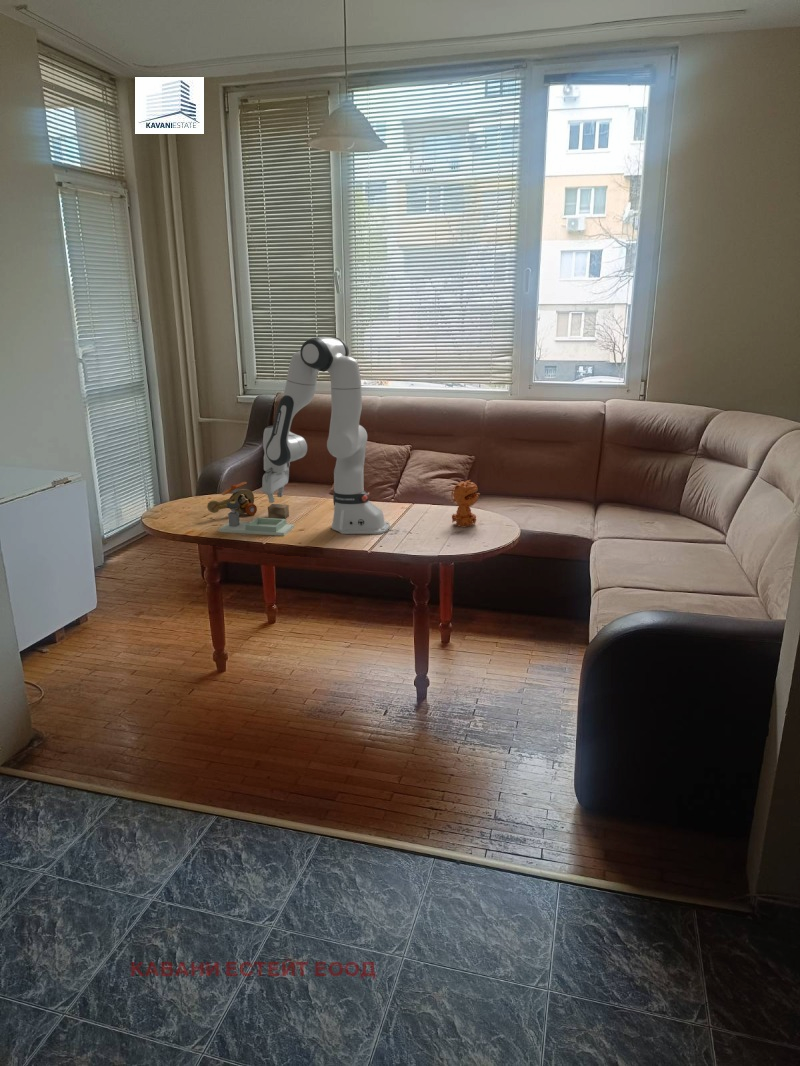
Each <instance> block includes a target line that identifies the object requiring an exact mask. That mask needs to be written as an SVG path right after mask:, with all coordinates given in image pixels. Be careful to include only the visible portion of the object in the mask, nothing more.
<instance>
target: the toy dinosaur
mask: <svg viewBox="0 0 800 1066" xmlns="http://www.w3.org/2000/svg"><path fill="white" fill-rule="evenodd" d="M471 480H472V479H469V480H468V479H467V480H465V481H464V480H463V481H460V482H459V483H458V484H456V485H455V486H453V488H452V490H451V494H450V495H451V500H452V502H453V503H455V502H456V505H457V506H458V507H457V510H456V513H453V514H451V520H452V521H451V523H452V524H453V523H454V522H456V525H457V526H458V525H460V526H459V527H461V526H468V527H470V526H469V525H471V524H472V525H473V524H474V525H476V521H477V515H476V514H475V513H473V512H472V509H471V506H474V504H476V503H477V501H478V499H479V496H480V495H481V493H479V492H477V491H478V486H477V484H476V483H475V482H471ZM472 525H471V526H472Z"/></svg>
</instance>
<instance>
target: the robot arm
mask: <svg viewBox="0 0 800 1066" xmlns="http://www.w3.org/2000/svg"><path fill="white" fill-rule="evenodd" d="M349 351H350V350H349V346H348V345H347V343H346V342H345V340H343V339H341V338H338V337H335V336H332V337H329V336H318V337H311V338H309V339H307V340H306V341H304V343H303V344H302V346H301V348H300V350H299V351H296V352H295V353H293V355H292V356H291V359H290V362H289V365H288V370H287V374H286V375H287V376H286V381H285V387H284V391H283V394H282V396H281V398H280V401H279V403H278V405H277V410H276V412H275V413H276V414H275V417H274V422H273V425H269V426H266V427H265V428H264V430H263V438H262V439H263V440H262V448H263V452H264V455H263V470H264V471H265V473H264V474H263V476H262V482H261V483H262V484H261V485H262V486H261V489H262V490H261V491H262V493H263V494H265V495H267V497H268V502H269V504H274V502H275V497H274V492H276V491H277V498H282V497H283V496H284V489H285V486H286V485H287V484H288V483H289V479H290V478H289V477H290V466H291V464H290V463H291V462H295V461H297V460H301V459H302V458H305V456H306V455H307V454H308V453H307V452H308V449H309V448H308V443H307V440H306V439H305V438H304V437H303V436H302V435H299V434H296V433H294V432H292V431H291V426H292V422H293V419H294V417H295V415H296V414H298V412H299V411H301V410H302V409H303V408H304V407H306V406H308V405H309V404H310V403H311V402H312V400H313V399H314V397H315V393H316V389H317V381H318V379H317V378H318V374H319V372H327V373H328V374H329V377H330V394H331V395H330V396H331V411H330V412H331V413H330V414H331V416H330V423H329V430H328V432H329V433H328V437H327V442H326V448H327V451H328V452H329V454H330V455H331V456H332V457H334V458H336V461H335V467H334V469H333V482H334V483H333V484H334V485H333V486H334V491H333V494H332V500H333V507H334V508H333V509H334V510H333V518H332V523H331V526H330V527H331V529H332V530H333V531H337V532H339V534H342V535H346V534H347V535H357V534H358V535H374V534H375V535H380V534H384V533H387V532H388V531H389V530H390V528H391V523H390V522H388V521H385V518H384V513H383V510H382V509H381V508H379V507H378V506H376V505H375V504H373V503H372V502H371V501H370V492H369V491H368V492H366V491H365V490H364V485H365V484H364V467H365V461H366V460H365V459H366V450H367V442H368V433H367V430H366V428H364V426H362V425H361V424H360V419H361V415H362V414H361V413H362V410H363V406H362V405H363V404H362V403H363V401H362V399H363V398H362V396H363V395H362V378H361V371H360V366H359V362H358V360H356V359H355V358H354V357H352V356H349ZM388 529H389V530H388Z"/></svg>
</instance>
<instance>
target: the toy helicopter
mask: <svg viewBox="0 0 800 1066" xmlns="http://www.w3.org/2000/svg"><path fill="white" fill-rule="evenodd" d="M246 484H247V481H243V482H240V483H238V484H232V485H231V486H230V488H229V489H226V490H225V491H223V492H221V495H222V496H226V495H227V494H229V493H232V494H231V495H230V497H229V498H227V499H224V500H220V501H217V500H210V501H209V502H208V503H207V505H206V509H207V510H208V511H209V512H210V513H214V514H216V513H218V512H219V511H220V510H226V509H228V508H227V503H228V502H239V508H235V512H239V515H243V514H246V515H248V516H254V515H256V514H257V512H258V507H257V505H256V504H255V495H254V493H253V491H252V490H250V489H247V488H241V487H242V486H245V485H246ZM240 488H241V489H240ZM230 512H232V509H230Z"/></svg>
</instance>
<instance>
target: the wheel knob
mask: <svg viewBox="0 0 800 1066" xmlns="http://www.w3.org/2000/svg"><path fill="white" fill-rule="evenodd" d="M235 508H239V502H228V503H227V508H226V509H229V510H231V509H232V511H231V512H232V513H235Z"/></svg>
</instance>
